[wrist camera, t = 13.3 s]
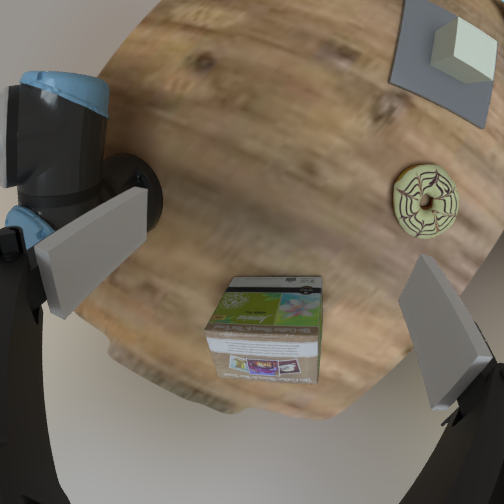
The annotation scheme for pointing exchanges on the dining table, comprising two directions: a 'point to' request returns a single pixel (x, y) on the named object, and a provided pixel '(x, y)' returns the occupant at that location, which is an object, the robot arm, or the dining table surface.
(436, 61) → the sage block
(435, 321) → the robot arm
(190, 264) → the dining table surface
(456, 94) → the slate plate
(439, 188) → the decorated donut
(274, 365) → the tea box
